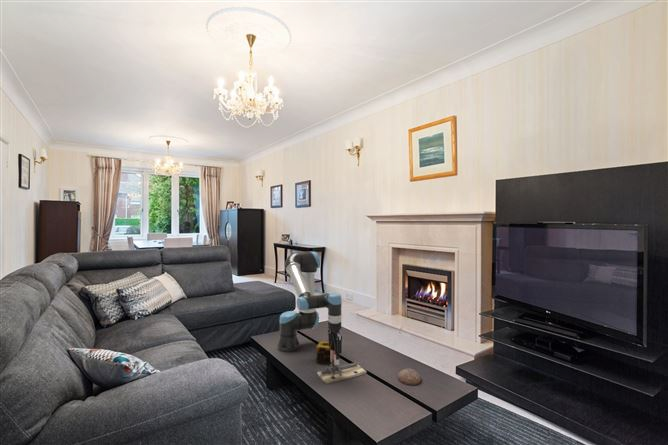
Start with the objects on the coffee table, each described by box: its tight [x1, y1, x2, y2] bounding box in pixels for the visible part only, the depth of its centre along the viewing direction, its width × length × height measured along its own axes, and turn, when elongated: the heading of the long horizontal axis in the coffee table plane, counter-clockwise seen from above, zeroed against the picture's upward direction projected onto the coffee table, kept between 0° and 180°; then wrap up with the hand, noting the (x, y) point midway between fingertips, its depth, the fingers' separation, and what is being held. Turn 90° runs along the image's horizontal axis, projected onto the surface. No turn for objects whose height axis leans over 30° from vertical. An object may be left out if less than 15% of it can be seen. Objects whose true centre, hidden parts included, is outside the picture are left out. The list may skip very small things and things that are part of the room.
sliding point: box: [329, 349, 342, 376], centre depth 180 cm, size 10×4×11 cm, turn 27°
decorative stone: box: [397, 368, 422, 386], centre depth 175 cm, size 12×12×6 cm
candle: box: [315, 340, 331, 365], centre depth 199 cm, size 10×10×10 cm
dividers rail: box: [320, 362, 359, 378], centre depth 181 cm, size 9×23×3 cm, turn 117°
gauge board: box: [317, 364, 368, 385], centre depth 181 cm, size 12×25×1 cm, turn 117°
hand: (334, 362), depth 183 cm, fingers closed on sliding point, 4 cm apart
